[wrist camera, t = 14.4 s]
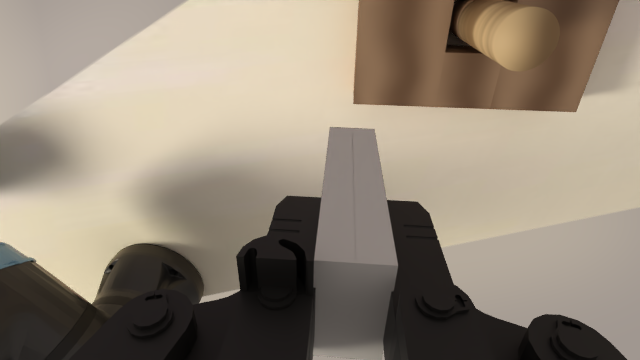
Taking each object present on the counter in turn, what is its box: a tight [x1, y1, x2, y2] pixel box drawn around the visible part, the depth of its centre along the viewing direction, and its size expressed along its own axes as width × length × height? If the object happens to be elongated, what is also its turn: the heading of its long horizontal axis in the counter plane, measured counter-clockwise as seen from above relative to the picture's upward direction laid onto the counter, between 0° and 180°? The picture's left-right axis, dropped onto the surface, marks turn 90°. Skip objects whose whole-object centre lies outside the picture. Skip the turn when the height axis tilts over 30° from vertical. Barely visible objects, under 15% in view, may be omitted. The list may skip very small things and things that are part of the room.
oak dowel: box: [449, 0, 560, 72], centre depth 30 cm, size 4×4×14 cm
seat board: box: [353, 0, 619, 112], centre depth 34 cm, size 22×16×4 cm
